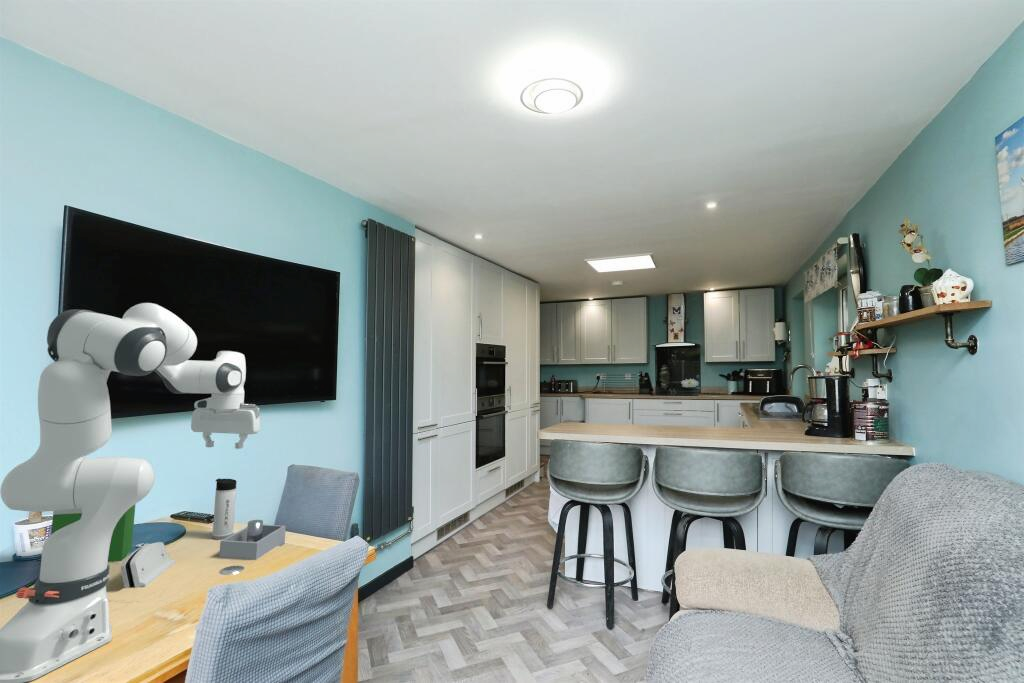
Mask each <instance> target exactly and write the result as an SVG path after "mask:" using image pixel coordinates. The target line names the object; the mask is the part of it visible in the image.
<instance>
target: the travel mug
mask: <svg viewBox="0 0 1024 683" xmlns="http://www.w3.org/2000/svg"><path fill="white" fill-rule="evenodd" d="M215 482H216V487H215V496H214V497H215V498H214V510H213V511H214V512H213V524H212V539H213V540H217V541H218V540H220V541H221V540H223V539H225V538H227V537H229V536H231V535H233V534H234V525H235V513H236V512H235V511H236V496H237V480H236V479H233V478H217V479H215Z"/></svg>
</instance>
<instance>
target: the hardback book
mask: <svg viewBox="0 0 1024 683" xmlns="http://www.w3.org/2000/svg"><path fill="white" fill-rule="evenodd" d="M135 515H136V504H135V505H133V506H132V507H131V508H130V509H128V510H127V511H126V512H125V513H124V515H123V516H122V517H121V518H120V520H119V521H118V523H117V524H116V526H115V528H114V531H113V533H112V537H111V542H110V548H109V554H108V563H111V562H112V563H114V562H122V561H124V560H125V559H126V558H127V557H128V556H127V554H128V553H129V552H130V551H131V550H132V549H133V539H134V538H133V536H134V526H135ZM81 516H82V510H81V509H71V510H58V511H52V522H51V532H50V535H51V534H53V533H54V532H56V531H58V530H59V529H61V528H63V527H65V526H67V525H70V524H72V523H74V522H76V521H78V520H80V519H81ZM132 551H133V550H132ZM132 551H131V552H132Z"/></svg>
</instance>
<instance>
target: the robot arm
mask: <svg viewBox="0 0 1024 683" xmlns="http://www.w3.org/2000/svg"><path fill="white" fill-rule="evenodd" d="M46 342H47V353H48V356H49V357H50V358H51V359H52V360H53V362H52V363H50V364H48V365H47V366H45V367H44V369H42V371H41V374H40V377H39V382H38V389H37V413H38V418H39V440H40V441H39V445H38V448H37V450H36V451H35V453H34V454H33V455H32V456H31V457H30V458H29V459H27V460H25V461H23V462H22V463H20V464H18V465H16V466H15V467H13V468H12V469H11V470H10V471H9V472H8V473H7V474H6V475H5V477H4V478H3V480H2V482H1V485H0V498H1V501H2V502H3V504H4V506H6V507H7V508H8V509H9V510H14V511H22V512H35V513H44V512H53V511H58V510H71V509H81V510H82V516H81V519H80V520H78V521H76V522H74V523H72V524H70V525H67V526H65V527H63V528H61V529H59V530H58V531H56V532H54V533H53V534H51V533H50V535H49V536H48V537H47V539H45V541H44V542H43V545H42V548H41V549H42V550H41V560H40V570H39V577H38V578H36V581H35V583H34V585H33V587H26V586H23V587H20V588H19V589H18V590H17V592H16V593H15V597H16V598H17V599H28V601H27V602H26V604H25V605H23V606H22V607H21V608H20V610H18V612H16V614H14V615H13V617H11V618H10V619H9V621H7V623H6V624H5V625H3V626H2V627H1V628H0V683H27V682H33V681H34V680H37V679H38V678H40V677H43V676H45V675H47V674H49V673H50V672H53V671H54V670H56V669H58V668H59V667H62V666H64V665H67V664H69V663H70V662H72V661H73V660H74V661H75V660H76V659H78V658H80V657H82V656H84V655H86V654H89V653H90V652H92V651H94V650H97V648H99V647H101V646H104V645H106V644H107V643H110V642H111V641H112V639H113V634H112V632H111V631H112V625H111V621H110V616H109V615H110V614H109V613H110V611H109V599H108V593H107V585H109V584H108V583H109V580H110V576H111V575H110V574H111V573H110V565H109V564H108V563H109V562H108V554H109V548H110V542H111V537H112V533H113V531H114V528H115V526H116V524H117V523H118V521H119V520H120V518H121V517H122V516H123V515H124V513H125V512H126V511H127V510H128V509H130V508H131V507H132V506H133V505H135V506H136V504H137V503H139V502H140V501H142V500H143V499H144V498H146V496H148V494H149V493H150V492H151V490H152V488H153V487H154V483H155V478H156V475H155V470H154V468H153V465H152V464H151V463H150V462H149V461H148V460H147V459H145V458H138V457H129V456H105V457H104V456H103V457H86V456H89V455H91V454H93V453H95V452H96V451H98V450H100V448H102V447H103V446H105V445H106V444H107V443H108V442H109V440H110V438H111V437H112V432H113V431H112V430H113V429H112V415H111V414H112V413H111V412H112V410H111V400H110V394H109V388H108V384H107V382H108V379H109V376H110V373H111V372H117V373H121V375H126V376H133V377H143V376H147V375H149V374H151V373H153V372H155V374H157V375H158V376H159V377H160V378H161V380H162V381H163V383H164V385H165V387H166V388H167V390H169V392H171V393H172V394H178V395H179V394H211V397H208V398H203V399H200V400H196V401H195V402H194V405H193V406H194V410H193V412H192V416H191V421H190V422H191V424H190V429H191V431H192V432H193V433H202V437H203V439H204V442H205V447H206V448H214V447H215V440H213V439H212V438H211V436H212V433H213V434H234V435H239V436H238V437H239V440H238V441H237V442H235V443H234V445H235V446H234V448H235V449H237V450H240V449H243V448H244V443H245V441H246V440H247V438H248V435H255V434H258V433H259V432H260V428H261V424H260V423H261V422H260V415H261V414H260V407H259V406H257V405H256V404H254V403H245V388H244V385H245V382H246V379H247V378H246V377H247V376H246V375H247V374H246V373H247V366H246V365H247V364H246V357H245V354H243V353H242V352H239V351H233V350H220V351H218V352H217V354H216V357H215V358H214V359H212V360H192V359H191V360H190V358H191V357H192V356H193V355H194V354H195V352H196V350H197V346H198V338H197V335H196V333H195V331H194V330H193V329H192V327H190V326H189V325H188V323H186V322H185V321H183V319H182V318H180V317H179V316H178V315H176V314H175V313H173V312H172V311H170V310H168V308H167V309H166V308H165V307H163V306H161V305H159V304H157V303H152V302H141V303H138V304H135V305H134V306H131V307H130V308H129V309H127V310H126V311H125V312H124V314H123V316H122V318H120V317H116V316H112V315H108V314H104V313H99V312H96V311H93V310H88V309H77V308H76V309H68V310H64V311H63V312H61V313H59V314H58V315H57V316H56V317H55V318H54V319H53V320H52V321H51V323H50V324H49V326H48V330H47V335H46ZM57 359H58V360H57Z"/></svg>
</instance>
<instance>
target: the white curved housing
mask: <svg viewBox="0 0 1024 683" xmlns="http://www.w3.org/2000/svg"><path fill="white" fill-rule="evenodd" d="M175 564H176V560H174V559H172V558H170V556H169V553H168V551H167V548H166V546H165V543H164V542H161V541H159V542H158V541H157V542H152V543H149V544H147V545H143V546H141V547H139V548H137V549H135V550H134V551H131V553H130V554H129V555H128V556H126V557H125V558H124V559H123V562H122V563H121V565H120V572H121V576H122V577H121V578H122V581H123V586H124V589H130V588H141V587H143V588H145V587H146V588H147V587H148V586H149V585H150V584H151V583H152V582H154V581H155V580H156V579H157V578H159V577H160V576H161V575H162V574H164V573H165V572H166V571H167V570H168V569H170V568H172V566H174V565H175Z"/></svg>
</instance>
